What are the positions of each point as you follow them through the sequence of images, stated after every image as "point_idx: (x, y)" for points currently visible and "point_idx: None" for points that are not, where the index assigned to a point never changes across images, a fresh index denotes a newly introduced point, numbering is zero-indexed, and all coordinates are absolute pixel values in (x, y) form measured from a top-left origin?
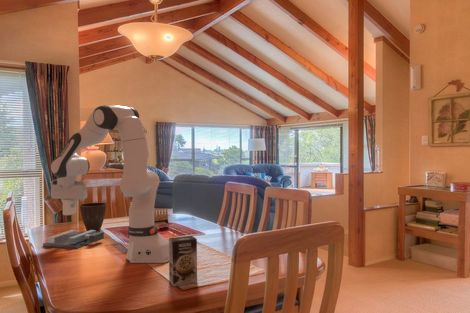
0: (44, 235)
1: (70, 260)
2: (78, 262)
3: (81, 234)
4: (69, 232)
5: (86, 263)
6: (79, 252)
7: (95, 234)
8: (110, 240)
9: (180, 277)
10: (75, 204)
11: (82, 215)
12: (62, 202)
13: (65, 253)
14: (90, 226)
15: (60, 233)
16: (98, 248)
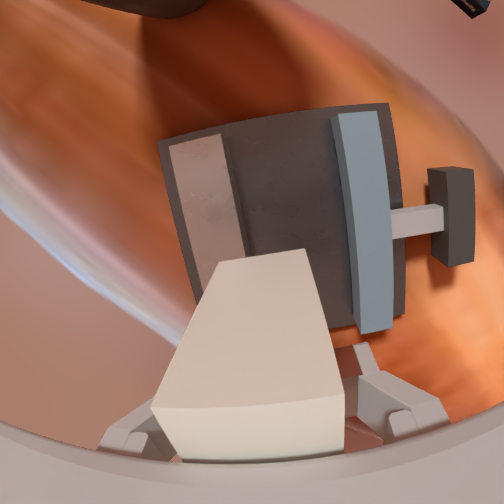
0: (32, 186)
1: (450, 394)
2: (476, 391)
3: (377, 248)
4: (234, 219)
5: (496, 384)
6: (438, 337)
7: (466, 236)
8: (452, 130)
9: None
10: (377, 370)
11: (100, 2)
12: (166, 449)
13: (395, 365)
14: (187, 4)
15: (201, 262)
16: (478, 268)
